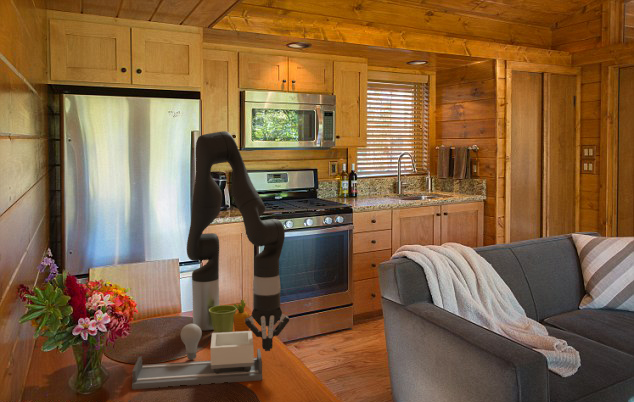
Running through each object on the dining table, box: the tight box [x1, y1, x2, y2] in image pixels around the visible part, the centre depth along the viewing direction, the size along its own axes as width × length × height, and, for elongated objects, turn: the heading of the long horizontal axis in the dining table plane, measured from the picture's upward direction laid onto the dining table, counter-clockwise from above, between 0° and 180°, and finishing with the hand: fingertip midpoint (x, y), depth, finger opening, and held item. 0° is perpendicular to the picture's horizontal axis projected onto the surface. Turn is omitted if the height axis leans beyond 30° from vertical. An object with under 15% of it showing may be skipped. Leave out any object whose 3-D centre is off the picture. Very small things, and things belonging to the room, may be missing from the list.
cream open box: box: [210, 330, 255, 374], centre depth 144 cm, size 11×11×8 cm
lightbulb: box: [180, 323, 203, 361], centre depth 153 cm, size 6×6×11 cm
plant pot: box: [209, 304, 238, 333], centre depth 175 cm, size 9×9×9 cm
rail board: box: [131, 348, 263, 390], centre depth 143 cm, size 12×34×4 cm, turn 100°
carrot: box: [232, 299, 250, 332], centre depth 163 cm, size 5×5×15 cm
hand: (267, 349), depth 146 cm, fingers closed
